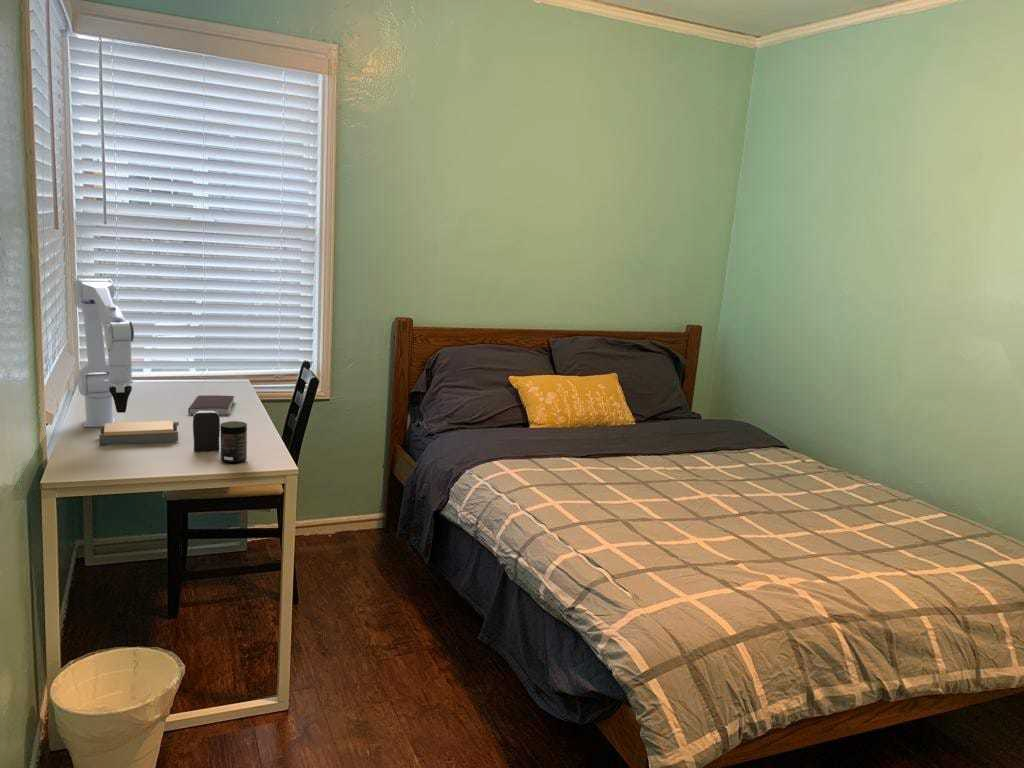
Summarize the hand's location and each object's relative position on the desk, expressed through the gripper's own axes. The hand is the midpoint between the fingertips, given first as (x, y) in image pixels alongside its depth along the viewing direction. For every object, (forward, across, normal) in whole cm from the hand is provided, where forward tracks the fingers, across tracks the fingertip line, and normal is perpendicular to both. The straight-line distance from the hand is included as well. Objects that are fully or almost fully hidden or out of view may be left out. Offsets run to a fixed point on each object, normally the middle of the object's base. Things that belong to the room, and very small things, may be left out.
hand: (121, 412), depth 216 cm
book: (+10, -36, +27) cm, 47 cm away
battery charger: (+9, +13, +21) cm, 26 cm away
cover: (+6, -1, +4) cm, 7 cm away
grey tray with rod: (+9, -1, +4) cm, 10 cm away
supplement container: (+9, +25, +27) cm, 38 cm away
